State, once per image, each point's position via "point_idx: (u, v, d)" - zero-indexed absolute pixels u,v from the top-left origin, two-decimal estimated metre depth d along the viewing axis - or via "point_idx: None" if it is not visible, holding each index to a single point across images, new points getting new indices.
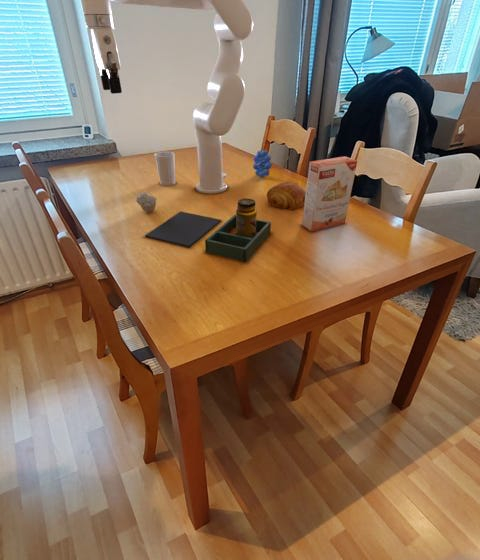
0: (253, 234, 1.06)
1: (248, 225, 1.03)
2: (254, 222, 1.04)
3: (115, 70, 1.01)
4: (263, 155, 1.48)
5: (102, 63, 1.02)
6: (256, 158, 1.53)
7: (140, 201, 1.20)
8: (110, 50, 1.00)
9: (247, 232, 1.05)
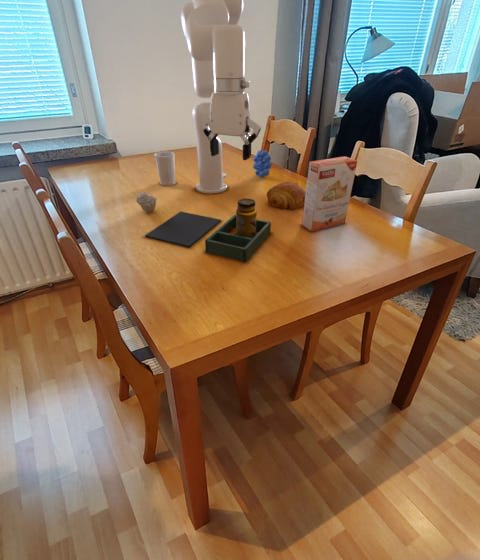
0: (253, 234, 1.06)
1: (248, 225, 1.03)
2: (254, 222, 1.04)
3: (256, 136, 0.91)
4: (263, 155, 1.48)
5: (238, 129, 0.90)
6: (256, 158, 1.53)
7: (140, 201, 1.20)
8: (248, 115, 0.89)
9: (247, 232, 1.05)
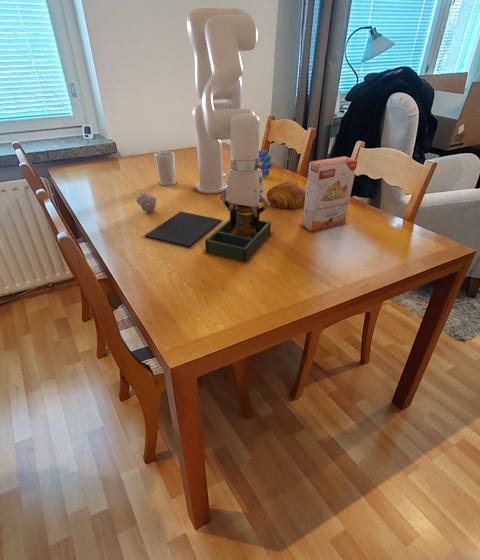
0: (252, 234, 1.06)
1: (247, 225, 1.03)
2: None
3: (264, 209, 1.00)
4: (263, 155, 1.48)
5: (252, 202, 0.98)
6: None
7: (140, 201, 1.20)
8: (262, 190, 0.98)
9: (246, 231, 1.04)
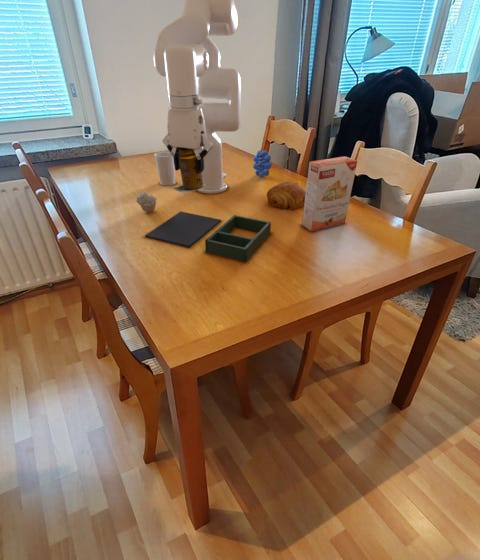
0: (199, 180, 1.03)
1: (192, 170, 1.00)
2: None
3: (207, 151, 0.97)
4: (263, 155, 1.48)
5: (193, 143, 0.95)
6: (256, 158, 1.53)
7: (140, 201, 1.20)
8: (203, 131, 0.95)
9: (192, 178, 1.01)
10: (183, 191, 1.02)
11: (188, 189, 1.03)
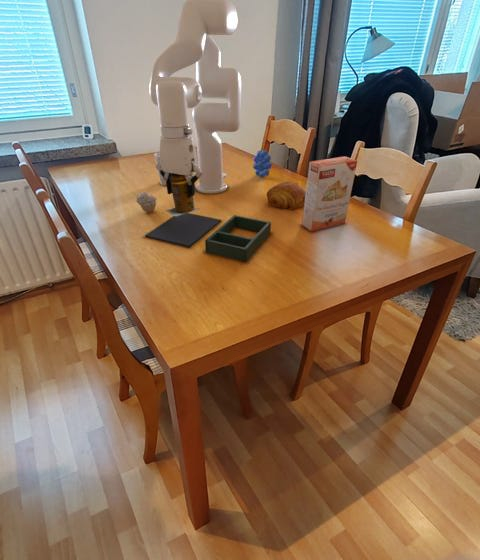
0: (190, 204, 1.08)
1: (183, 194, 1.05)
2: None
3: (198, 177, 1.02)
4: (263, 155, 1.48)
5: (184, 170, 1.00)
6: (256, 158, 1.53)
7: (140, 201, 1.20)
8: (193, 158, 1.00)
9: (183, 201, 1.06)
10: (175, 214, 1.07)
11: (180, 212, 1.08)
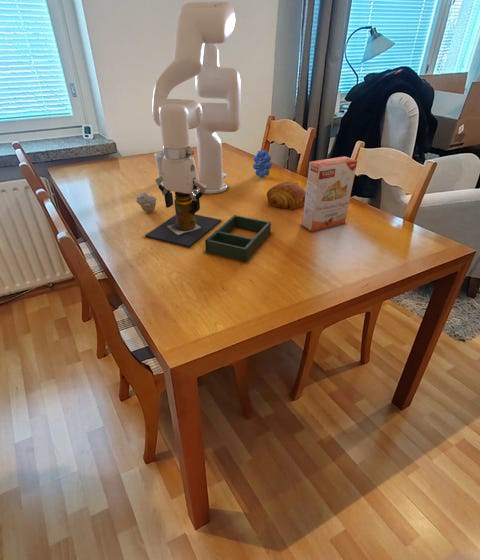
0: (192, 223, 1.11)
1: (186, 214, 1.08)
2: None
3: (203, 193, 1.04)
4: (263, 155, 1.48)
5: (186, 189, 1.03)
6: (256, 158, 1.53)
7: (140, 201, 1.20)
8: (194, 176, 1.03)
9: (186, 220, 1.10)
10: (177, 231, 1.11)
11: (182, 229, 1.12)
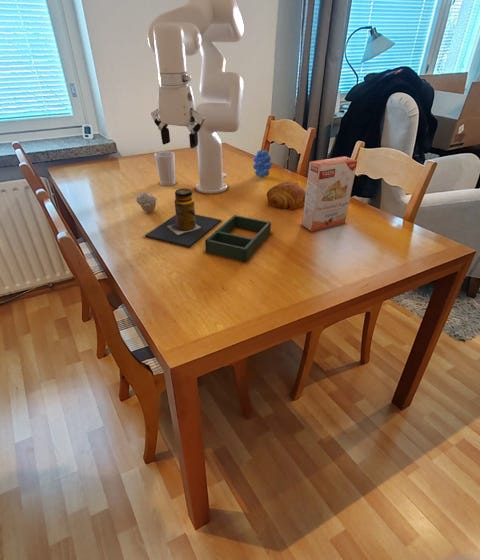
0: (192, 223, 1.11)
1: (186, 214, 1.08)
2: (192, 211, 1.09)
3: (201, 125, 1.00)
4: (263, 155, 1.48)
5: (183, 120, 0.98)
6: (256, 158, 1.53)
7: (140, 201, 1.20)
8: (192, 106, 0.98)
9: (186, 220, 1.10)
10: (177, 231, 1.11)
11: (182, 229, 1.12)
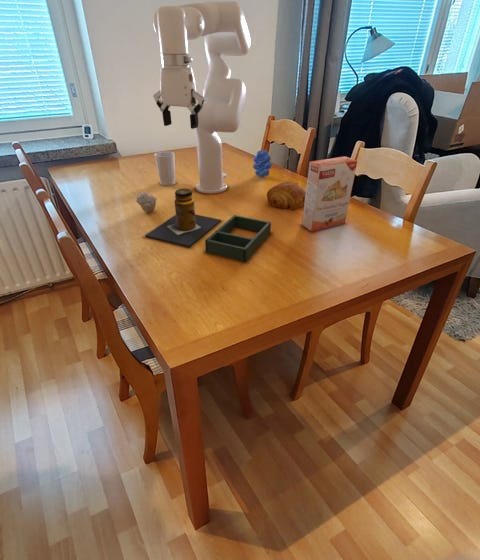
0: (192, 223, 1.11)
1: (186, 214, 1.08)
2: (192, 211, 1.09)
3: (201, 106, 1.03)
4: (263, 155, 1.48)
5: (184, 100, 1.02)
6: (256, 158, 1.53)
7: (140, 201, 1.20)
8: (193, 87, 1.02)
9: (186, 220, 1.10)
10: (177, 231, 1.11)
11: (182, 229, 1.12)
